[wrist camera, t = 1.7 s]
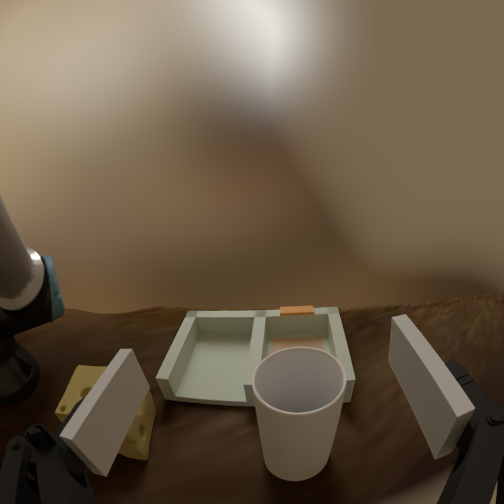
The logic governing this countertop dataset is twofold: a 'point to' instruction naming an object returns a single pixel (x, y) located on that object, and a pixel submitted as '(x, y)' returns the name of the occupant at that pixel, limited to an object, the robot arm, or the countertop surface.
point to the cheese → (140, 427)
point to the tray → (244, 351)
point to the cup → (298, 409)
